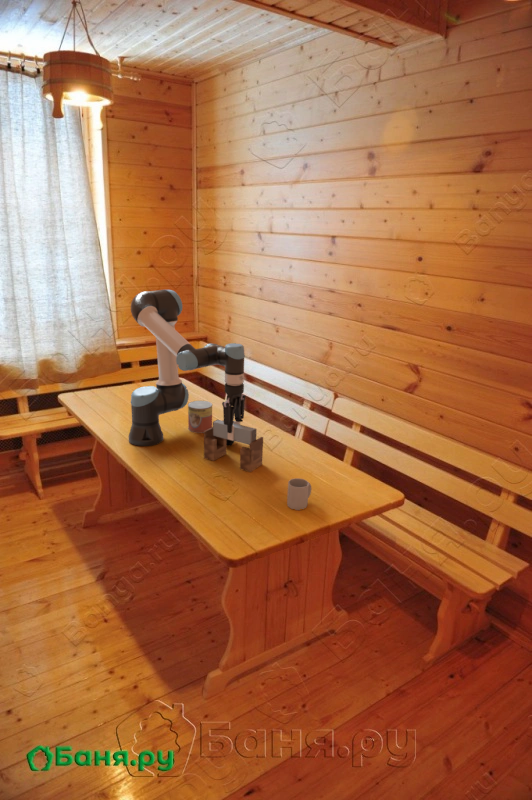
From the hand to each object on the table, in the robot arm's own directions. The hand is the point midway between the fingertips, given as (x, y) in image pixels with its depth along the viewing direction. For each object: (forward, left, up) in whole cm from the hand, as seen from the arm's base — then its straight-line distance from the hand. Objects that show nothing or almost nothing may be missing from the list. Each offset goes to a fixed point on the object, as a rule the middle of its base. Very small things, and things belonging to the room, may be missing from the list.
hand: (233, 438), depth 233 cm
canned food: (-33, +21, -11) cm, 41 cm away
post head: (-9, 0, -10) cm, 14 cm away
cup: (+40, -16, -11) cm, 44 cm away
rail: (0, 0, 0) cm, 0 cm away
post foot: (+9, 0, -10) cm, 14 cm away
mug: (-11, +13, -11) cm, 20 cm away
